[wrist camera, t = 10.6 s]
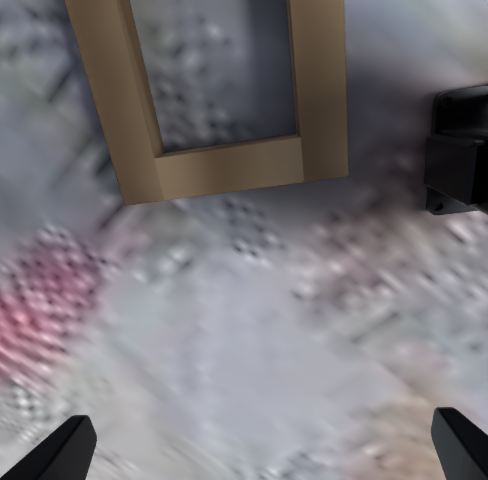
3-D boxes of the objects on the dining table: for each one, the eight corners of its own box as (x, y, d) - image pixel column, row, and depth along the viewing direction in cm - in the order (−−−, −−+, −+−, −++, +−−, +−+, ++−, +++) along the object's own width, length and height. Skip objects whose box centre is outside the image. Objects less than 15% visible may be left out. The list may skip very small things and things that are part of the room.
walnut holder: (330, -111, 14) (340, -142, 12) (339, 169, 19) (348, 176, 17) (69, -53, 15) (42, -74, 13) (137, 195, 20) (125, 205, 18)
